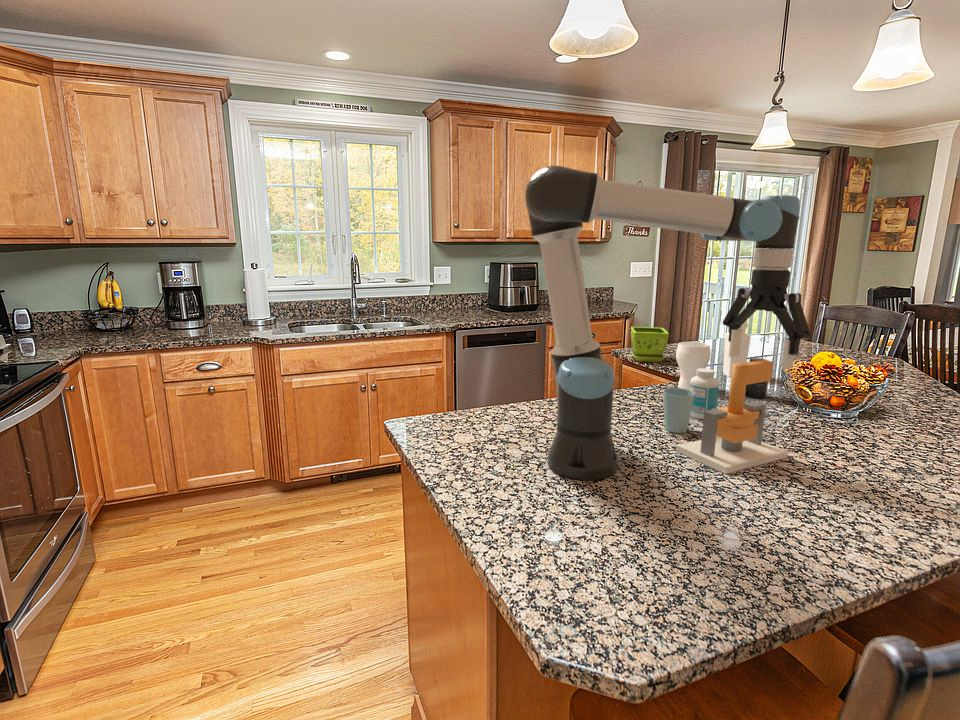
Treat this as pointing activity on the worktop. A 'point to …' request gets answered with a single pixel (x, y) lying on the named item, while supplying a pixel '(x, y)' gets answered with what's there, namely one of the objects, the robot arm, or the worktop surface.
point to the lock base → (733, 457)
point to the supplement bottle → (756, 387)
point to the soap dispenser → (742, 355)
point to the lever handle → (742, 401)
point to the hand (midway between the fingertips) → (759, 362)
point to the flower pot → (649, 343)
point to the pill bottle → (704, 392)
